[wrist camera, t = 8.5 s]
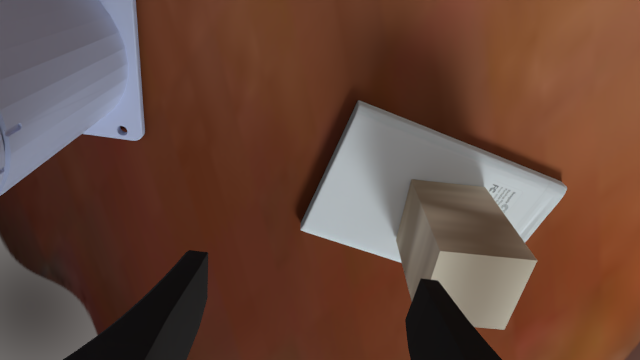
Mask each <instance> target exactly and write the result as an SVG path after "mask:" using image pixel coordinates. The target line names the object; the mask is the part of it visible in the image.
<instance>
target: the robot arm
mask: <svg viewBox="0 0 640 360" xmlns="http://www.w3.org/2000/svg"><path fill="white" fill-rule="evenodd" d="M120 126H123V127H125V128H126V129H127V132H123V131H122V130H121V128H120ZM144 133H145V126H144V112H143V98H142V83H141V69H140V55H139V41H138V27H137V13H136V0H0V196H1V195H2V194H3V193H5V192H6V191H7V190H8V189H10V188H11V187H12V186H14V185H15V184H16V183H18V182H19V181H20V180H22V179H23V178H24V177H26V176H27V175H28V174H29V173H31V172H32V171H33V170H35V169H36V168H37V167H39V166H40V165H41V164H43V163H44V162H45V161H47V160H48V159H49V158H50V157H52V156H53V155H54V154H56V153H57V152H58V151H60V150H61V149H62V148H64V147H65V146H66V145H68V144H69V143H70V142H72V141H73V140H74V139H75V138H77V137H78V136H79V135H81V134H88V135H96V136H103V137H110V138H118V139H125V140H132V141H137V140H139V139H141V138H142V137H143V135H144ZM207 284H208V253H207V252H199V251H191V250H189V251H188V252H186V253H185V254H184V256H183V257H182V258H181V259H180V260H179V261H178V262H177V264H176V265H175V266H174V267H173V268H172V269H171V270H170V271H169V272H168V273H167V274H166V275H165V276H164V277H163V279H162V280H161V281H160V282H159V283H158V284H157V285H156V286H154V287H153V288H152V289H151V290H150V291H149V292H148V293H147V294H146V295H145V296H144V297H143V298H142V299H141V300H140V301H139V302H138V303H137V304H135V305H134V306H133V307H132V308H131V309H130V310H129V311H128V312H126V313H125V314H124V315H123V316H122V317H121V318H119V319H118V320H117V321H116V322H115V323H113V324H112V325H111V326H110V327H108V328H107V329H106V330H104V331H103V332H102V333H100V334H99V335H98V336H96V337H95V338H94V339H93V340H91V341H90V342H88V343H87V344H85V345H84V346H82V347H81V348H80V349H78V350H77V351H76V352H74V353H72V354H71V355H69V356H68V357H66V358H65V359H63V360H186V359H187V357H188V354H189V352H190V349H191V347H192V344H193V341H194V339H195V336H196V334H197V331H198V329H199V326H200V323H201V319H202V315H203V312H204V308H205V304H206V300H207ZM406 331H407V340H408V348H409V353H410V358H411V360H502V359H501V358H500V357H499V356H498V355H497V354H496V352H495V351H494V350H493V349H492V348H491V347H490V346H489V345H488V343H487V342H486V341H485V340H484V339H483V338H482V336H481V335H480V334H479V333H478V332H477V330H476V329H475V328H474V327H473V325H472V324H471V323H470V322H469V320H468V319H467V318H466V317H465V315H464V314H463V313H462V311H461V310H460V309H459V307H458V306H457V305H456V303H455V302H454V301H453V300H452V298H451V297H450V295H449V294H448V293H447V291H446V290H445V289H444V287H443V286H442V285H441V284H440V282H439V281H438V280H430V279H422V278H421V279H420V282H419V284H418V287H417V290H416V292H415V295H414V298H413V301H412V303H411V306H410V309H409V312H408V314H407V317H406Z"/></svg>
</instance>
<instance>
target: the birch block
mask: <svg viewBox="0 0 640 360" xmlns="http://www.w3.org/2000/svg"><path fill="white" fill-rule="evenodd" d="M396 242H397V246H398V250H399V254H400V258H401V262H402V266H403V269H404V273H405V277H406V281H407V285H408V289H409V293H410V297H411V301H413V298H414V295H415V292H416V290H417V287H418V284H419V282H420V279H421V278H422V279H430V280H438V281H439V282H440V284H441V285H442V286H443V287H444V289H445V290H446V291H447V293H448V294H449V295H450V297H451V298H452V300H453V301H454V302H455V303H456V305H457V306H458V307H459V309H460V310H461V311H462V313H463V314H464V315H465V317H466V318H467V319H468V320H469V322H470V323H471V324H472V325H473V327H480V328H491V329H502V330H504V329H505V327H506V325H507V323H508V321H509V319H510V317H511V315H512V313H513V310H514V308H515V306H516V304H517V302H518V300H519V298H520V296H521V294H522V292H523V290H524V287H525V285H526V283H527V281H528V279H529V277H530V275H531V273H532V271H533V269H534V266H535V264H536V262H537V259H536V258H535V257H534V255H533V254H532V252H531V251H530V250H529V248H528V247H527V245H526V244H525V243H524V241H523V240H522V238H521V237H520V236H519V234H518V233H517V231H516V230H515V228H514V227H513V226H512V224H511V223H510V221H509V220H508V219H507V217H506V216H505V214H504V213H503V212H502V210H501V209H500V207H499V206H498V205H497V203H496V202H495V200H494V199H493V197H492V196H491V195H490V193H489V192H488V190H487V189H486V188H485V187H480V186H471V185H461V184H452V183H443V182H433V181H424V180H414V179H411V183H410V186H409V190H408V194H407V198H406V202H405V206H404V210H403V214H402V218H401V222H400V226H399V230H398V234H397V237H396Z"/></svg>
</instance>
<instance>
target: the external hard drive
mask: <svg viewBox="0 0 640 360" xmlns="http://www.w3.org/2000/svg"><path fill="white" fill-rule="evenodd" d="M411 179H414V180H424V181H433V182H443V183H452V184H461V185H471V186H480V187H485V188H486V189H487V190H488V192H489V193H490V195H491V196H492V197H493V199H494V200H495V202H496V203H497V205H498V206H499V207H500V209H501V210H502V212H503V213H504V214H505V216H506V217H507V219H508V220H509V221H510V223H511V224H512V226H513V227H514V228H515V230H516V231H517V233H518V234H519V236H520V237H521V238H522V240H523V241H524V243H525V242H526V241H527V239H528V238H529V237H530V236H531V235H532V234H533V232H534V231H535V230H536V229H537V228H538V226H539V225H540V224H541V223H542V221H543V220H544V219H545V218H546V217H547V215H548V214H549V213H550V212H551V211H552V210H553V208H554V207H555V206H556V205H557V204H558V202H559V201H560V200H561V199H562V197H563V196H564V194H565V192H566V190H567V187H566V186H565V185H564V184H563V183H562V182H561V181H559V180H557V179H554V178H552V177H549V176H547V175H544V174H542V173H539V172H537V171H534V170H532V169H529V168H527V167H524V166H522V165H519V164H517V163H515V162H512V161H510V160H507V159H505V158H502V157H500V156H497V155H495V154H492V153H490V152H487V151H485V150H482V149H480V148H477V147H475V146H472V145H470V144H467V143H465V142H462V141H460V140H457V139H455V138H452V137H450V136H447V135H445V134H442V133H440V132H437V131H435V130H433V129H430V128H428V127H425V126H423V125H420V124H418V123H415V122H413V121H410V120H408V119H405V118H403V117H400V116H398V115H395V114H393V113H390V112H388V111H385V110H383V109H380V108H377V107H375V106H372V105H370V104H367V103H365V102H362V101H360V100H358V101H357V103H356V106H355V108H354V110H353V112H352V114H351V117H350V119H349V121H348V123H347V125H346V127H345V130H344V132H343V134H342V136H341V138H340V140H339V142H338V145H337V147H336V149H335V151H334V153H333V155H332V157H331V160H330V162H329V164H328V166H327V168H326V170H325V173H324V175H323V177H322V179H321V181H320V183H319V185H318V188H317V190H316V192H315V194H314V196H313V198H312V200H311V202H310V205H309V207H308V209H307V211H306V213H305V215H304V217H303V219H302V222H301V231H304V232H308V233H310V234H314V235H317V236H320V237H323V238H326V239H329V240H332V241H335V242H339V243H342V244H345V245H348V246H351V247H354V248H357V249H360V250H363V251H366V252H370V253H373V254H376V255H379V256H382V257H385V258H388V259H391V260H394V261H397V262H401V258H400V254H399V250H398V246H397V242H396V237H397V234H398V230H399V226H400V222H401V218H402V214H403V210H404V206H405V202H406V198H407V194H408V190H409V186H410V183H411ZM401 263H402V262H401Z"/></svg>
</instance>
